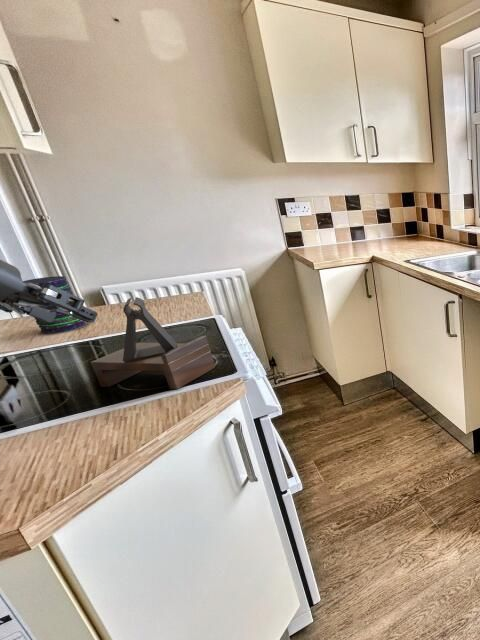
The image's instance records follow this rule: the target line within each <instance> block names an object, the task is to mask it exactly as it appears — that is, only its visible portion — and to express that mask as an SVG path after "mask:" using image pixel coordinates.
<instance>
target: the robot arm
mask: <svg viewBox="0 0 480 640" xmlns="http://www.w3.org/2000/svg"><path fill="white" fill-rule="evenodd" d="M23 281H24V280H23V279H22V274H21V271H20V270H19V268H18V267H16V266H15V265H12V264H10V263H9V262H7V261H4V260H2V259H0V310H1V311H3V312H5V313H13V312H15V313H17V314H19V315H27V316H29V317H32V318H34V319H35V318H37V319H40V320H42V321H45V322H53V320H54V318H55V316H56V312H55V311H58V312H61V313H65V314H68V315H71V316H73V317H76V318H78V319H80V320H83V321H84V322H85V323H87V324H93V323H95V321H96V319H97V317H98V315H99V314H98V312H97V311H95V310H93V309H91V308H89V307H87V306H84V304H85V302H86V301H85V299H83V298H82V297H79V296H77V295H75V294H73V295H72V294H70V293H68V292H65V291H63V290H61V289H59V288H57V287H54V286H52V285H50V284H44V285H43V287H42V288H41V287H39V286H38V285H36V284H32V283H28V282H25V283H24V282H23ZM46 302H48V303H50V305H49V306H43V305H44V304H45V303H46ZM67 303H68V305H67ZM57 306H58V307H57ZM60 307H61V308H60Z"/></svg>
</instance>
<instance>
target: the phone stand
mask: <svg viewBox="0 0 480 640" xmlns="http://www.w3.org/2000/svg"><path fill="white" fill-rule="evenodd" d="M131 301H132V298H131V297H129V298H128V299H127V300H126V302H125V304H124V307H123V308H122V309H123V313H124V315H125V317H126V326H125V337H124V347H123V348H124V355H123V361H124V362H129V361H133V360H138V359H143V358H148V357H150V356H152V357H153V356H158V355H162V354H164V353H166V352H169V351H171V350H173V349H175V348H176V343H177V341H176V340H175V339H174V338H173V336H172V335H170V333H169V332H168V331H167V330H165V328H164V327H163V326H162V325H161V324H160V323H159V321H158V320H157V319H156V318H155V317H154V316H153V315H152V314H151V313H150V312H149V311H148V309H147V307H146V304H145V301H144V299H142V298H140V297H138V296H136V297H135V299H134V301H133V305H134V306H137V307H139V308H138V309H134V308H131V306H130V303H131ZM136 320H139V321H141V322H142V323H143V325H144V326H145V327H146V328H147V331H149V333H150V334H151V335H152V337H154V339H155V340H156V341H157V343H159V344H160V346H154V347H149V348H144V349H139V350H138V349H136V343H137V325H136V324H137V323H136Z"/></svg>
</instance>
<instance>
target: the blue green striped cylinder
mask: <svg viewBox="0 0 480 640" xmlns="http://www.w3.org/2000/svg"><path fill="white" fill-rule="evenodd" d="M22 281H23V282H24V283H25V282H28V283H32V284H36V285H38V286H39V287H41V288H42V287H43V285H44V284H50V285H52V286H54V287H57V288H59V289H61V290H63V291H65V292H68V293H70V294H72V295H74V294H73V291H72V288H71V285H69V282H68V281H67V277H66V276H62V275H59V276H57V275H56V276H55V275H54V276H45V277H37V278H33V279H32V278H31V279H27V280H22ZM49 305H50V303H48V302H46V303H45V304H44V305H43V306H49ZM67 305H68V303H67ZM57 307H58V306H57ZM60 308H61V307H60ZM55 312H56V316H55V318H54V320H53V322H45V321H42V320H40V319H37V318H34V320H35V323H36V325H37V326H38V328H39V329H40V333H41V334H44V335H50V334H51V335H52V334H53V335H54V334H60V333H66V332H70V331H75V330H78V329H81V328H83V327H85V326H86V322H85V321H83V320H80V319H78V318H76V317H73V316H71V315H68V314H65V313H61V312H58V311H55Z"/></svg>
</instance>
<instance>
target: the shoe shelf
mask: <svg viewBox="0 0 480 640" xmlns="http://www.w3.org/2000/svg"><path fill="white" fill-rule="evenodd" d="M154 346H160V344H159V343H158V342H136V349H138V350H139V349H144V348H149V347H154ZM123 355H124V347H123V348H120V349H119V350H116V351H113V352H112V353H109V354H106V355H105V356H102V357H99V358H97V359H95V360H92V361H90V365H91V367H92V369H93V372H94V374H95V375H96V379H97V380H98V383H99V386H100V387H101V388H110V387H112V386H114V385H116V384H119V383H121V382H122V381H124V380H127V379H129V378H131V377H133V376H134V375H137V374H139V373H141V372H163V375H164V377H165V379H166V382H167V386H168V388H169V389H170V390H179V389H180V388H182V387H184V386H186V385H187V384H189V383H191V382H192V381H194V380H196V379H198V378H200V377H201V376H203V375H205V374H207V373H208V372H210V371H212V370H213V369H215V368H216V363H215V360H214V357H213V354H212V351H211V347H210V345H209V341H208V338H207V336H206V335H201V336H198V337H197V338H194V339H192V340H190V341H187V342H185V343H183V342H182V343H181V342H180V343H178V342H176V348H175V349H173V350H171V351H169V352H166V353H164V354H162V355H158V356H153V357H152V356H150V357H148V358H143V359H138V360H133V361H129V362H124V361H123Z"/></svg>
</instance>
